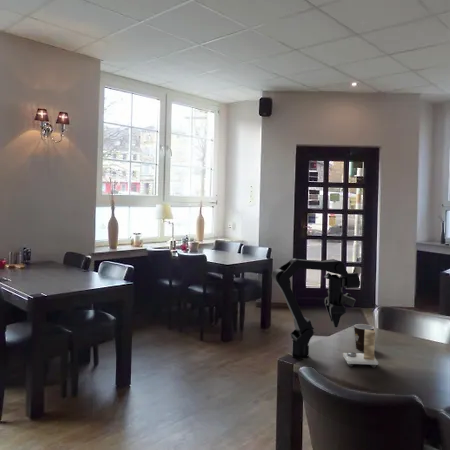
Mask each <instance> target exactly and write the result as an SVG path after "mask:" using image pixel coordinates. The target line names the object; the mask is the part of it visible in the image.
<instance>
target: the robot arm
mask: <svg viewBox="0 0 450 450" xmlns="http://www.w3.org/2000/svg"><path fill="white" fill-rule="evenodd" d="M299 269H301V270H315V271H324V272H327V273H326V274H325V275H324V276H323V278H324V279H326V280H328V289H327V295H328V296H326V297H325V298H324V305H325V308H326V311H327V314H328V316H329V319H330V322H332V324H333V326H334V328H338V327H339V323H340V320H341V317H342V316H344V315H345V314H346V313H347V308H346V307H345V305H347V306H350V307H352V308H354V305H355V303H356V301H357V300H356V299H355V298H354V297H352V295H351V293H348V292H346V293H345V294H344V292H343V288H344V289H359V288H360V286H361V280H360V277H359V273H357V272H348V270H346V267H345V264H344V262H343V261H342V260H337V259H334V258H331V259H325V260H324V259H323V260H314V259H312V260H311V259H302V258H301V259H300V258H291V259H290V260H288V262H286V263H284V264H283V265H281V266H280V267H279V268H275V269H274V270H273V271H272V273H271V279H272V281H273V282H274V284H275V285H276V286H277V287H278V288H279V290H280V291H281V293H282V296H283V298H284V300H285V302H286V304H287V307H288V309H289V311H290V315H292V317H293V324H294V330H293V331H292V332H291V333H290V338H291V339H292V341H291V352H290V353H291V357H292V358H300V359H302V358H304V359H305V358H306V359H308V357H309V352H310V350H309V349H310V345H309V344H310V341H311V339H312V337H313V336H314V330H315V328H314V326H313V324H312V322H311V320H310V319H309V318H307V317H304V315H303V312H302V310H301V308H300V305H299V304H298V301H297V299H296V297H295V295H294V292H293V290H292V287H291V285H292V283H291V279H290V278H292V277H293V276H294V274H295V273H296V271H298V270H299ZM339 275H340V276H339ZM344 304H345V305H344Z"/></svg>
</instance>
